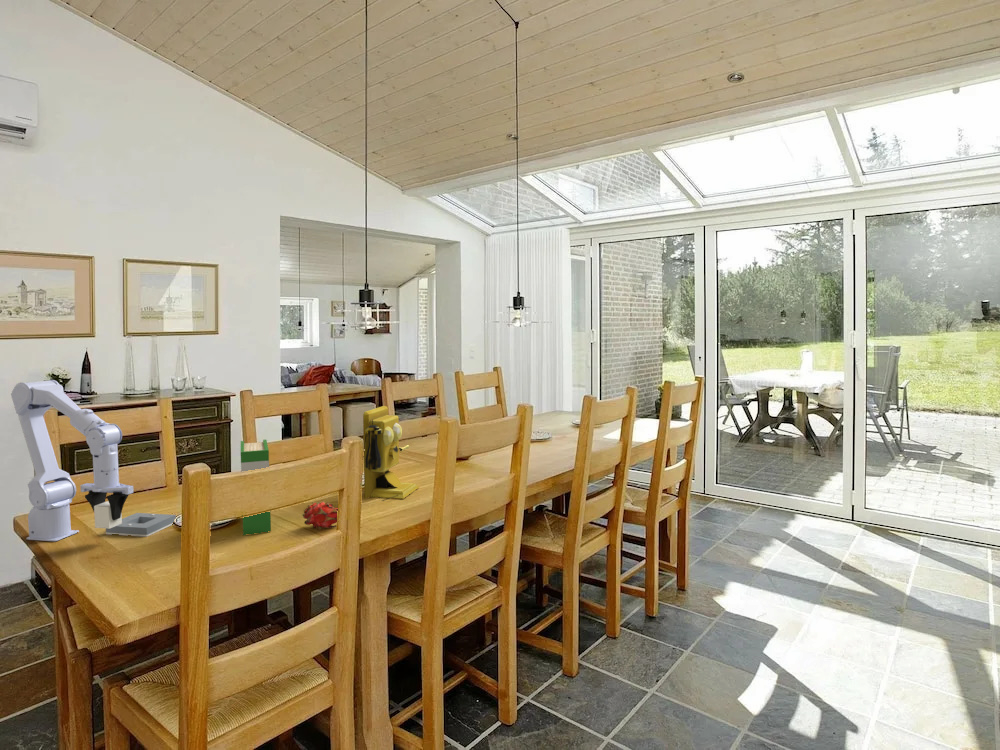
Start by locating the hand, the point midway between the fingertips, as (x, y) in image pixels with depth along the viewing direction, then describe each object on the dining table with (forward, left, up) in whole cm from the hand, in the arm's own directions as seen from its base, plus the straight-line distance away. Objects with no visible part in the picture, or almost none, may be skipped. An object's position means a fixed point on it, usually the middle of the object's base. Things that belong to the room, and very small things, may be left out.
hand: (108, 518), depth 166 cm
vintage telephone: (+60, +60, -7) cm, 85 cm away
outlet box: (0, +12, -7) cm, 14 cm away
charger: (0, 0, -2) cm, 2 cm away
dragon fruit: (+52, +22, -7) cm, 57 cm away
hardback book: (+31, +21, -7) cm, 38 cm away
